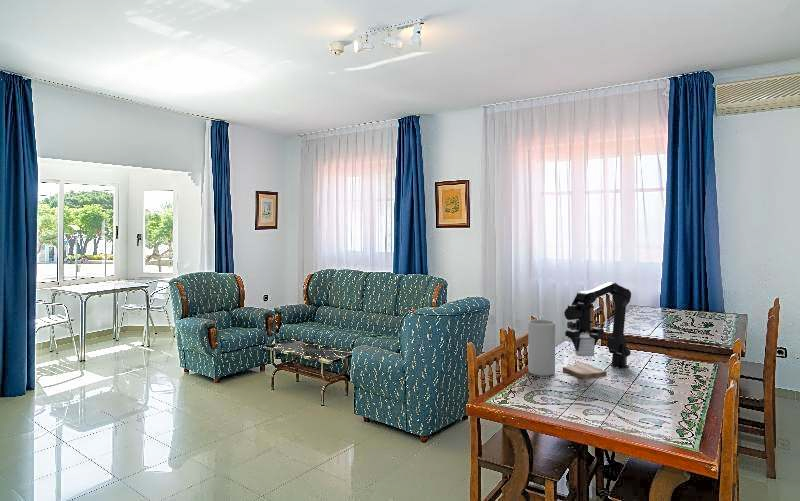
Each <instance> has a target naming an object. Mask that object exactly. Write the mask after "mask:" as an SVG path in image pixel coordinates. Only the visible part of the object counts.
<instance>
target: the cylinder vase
mask: <svg viewBox="0 0 800 501" xmlns="http://www.w3.org/2000/svg"><path fill="white" fill-rule="evenodd" d="M527 323H528V326H527V328H528V333H527V335H528V338H527V339H528V347H527V349H528V351H527V352H528V358H527V359H528V365H527V366H528V367H527V369H528V372H529V374H532V375H534V376H539V377H549V376H553V375H555V373H556V321H554V320H550V319H542V318H541V319H537V318H535V319H530V320H528V322H527Z"/></svg>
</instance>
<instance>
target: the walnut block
mask: <svg viewBox="0 0 800 501" xmlns="http://www.w3.org/2000/svg"><path fill="white" fill-rule="evenodd" d="M562 371H563V372H564V373H566V374H569V375H571V376H574V377H576V378H579V379H582V380H587V379H593V378H600V377H607V373H608V372H607V371H606V370H603V369H601V368H598V367H595V366H593V365H590V364H587V363H582V364H575V365H569V366H567V365H566V366H562Z"/></svg>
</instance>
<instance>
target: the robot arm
mask: <svg viewBox="0 0 800 501" xmlns="http://www.w3.org/2000/svg"><path fill="white" fill-rule="evenodd" d="M607 294H611V296H612V297H611V298H612V302H613V304H614V316H613V324H612V334H611V335H610V336H607V342H606V345H607V348H608V352H609V354H612V357H611V364H609V366H610V367H613V368H616V369H624V368H625V369H626V368H630V366H629V365H627V364H628V363H627V361H628V360H627V359H628V357H629V356H631V352H632V351H631V350H630V349H629V348H628V346H627V340H626V337H625V335H624V334H625V333H624V332H625V321H626V312H627V311H626V310H627V306H628V304H629V303H630V302H631V298H632V292H631V291H630V289H629V288H625V287H624V286H621V285H619V284H618V283H616V282H614V281H613V282H612V281H607V282H605V283H604V284H602V285H601V284H600V285H598V286H597V287H595V288H592V289H589V290H581V291H578V292H576V295H575V297H574V299H573V300H572V303H571V305H570V304H569V305H567V308H565V310H564V312H563V313H564V318H565V319H566V320H568V321H567V322H566V325H567V326H566V327H567V330H566V331H565V332H564V333H565V335H564V336H565V337H567V338H568V339H570V340H571V342H572V343H573V346H574V349H575V350H576V351H578V349H579V344H580V338H579V337H581V335H588V337H592V338H594V339H595V341H594V348H595V346H596V345H597V343H598V341H599V340H600V338H601V337H602V336H604V334H605V332H604V331H605V330H604V329H603V328H602V327H598V326H593V327H592V324H593V323H594V321H593V320H592V309H595V306H594V305H593V304H594V303H595V302H596V300H597V299H598V298H600V297H602V296H605V295H607ZM574 320H575V322H573V321H574Z"/></svg>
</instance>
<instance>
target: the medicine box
mask: <svg viewBox="0 0 800 501" xmlns="http://www.w3.org/2000/svg"><path fill="white" fill-rule="evenodd" d="M579 338H580V344H579V349H578V351H576V350H575V351H574V352H575V356H577V357H595V347H594V341H595V339H594V338H592V337H590V336H580V337H579Z"/></svg>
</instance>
